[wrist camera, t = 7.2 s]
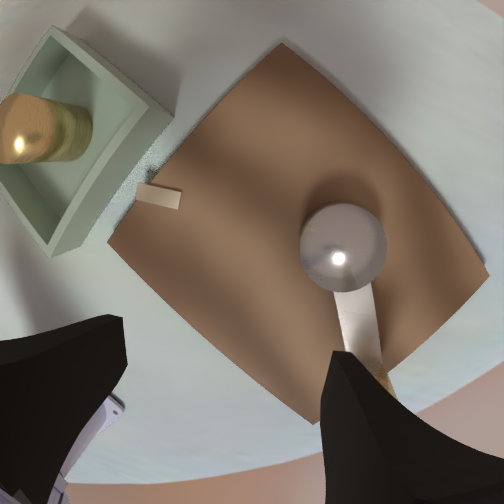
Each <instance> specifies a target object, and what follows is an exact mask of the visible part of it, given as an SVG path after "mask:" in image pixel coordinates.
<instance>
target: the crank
mask: <svg viewBox="0 0 504 504" xmlns="http://www.w3.org/2000/svg"><path fill="white" fill-rule="evenodd" d="M299 244H300V257H301V262H302V265H303V267H304V269H305V271H306V273H307V274H308V276H309V277H310V278H311V279H312V281H314V282H315V283H316V284H317V285H319V286H320V287H322V288H324V289H326V290H329V291H333V295H334V299H335V304H336V309H337V313H338V318H339V323H340V328H341V333H342V338H343V343H344V348H345V351H347V352H352V353H353V354H354V355H355V356H356V357H357V359H358V360H359V361H360V362H361V363H362V364H363V365H364V366H365V368H366V369H367V370H368V371H369V372H370V373H371V374H372V375H373V376H374V378H375V379H376V380H377V381H378V382H379V383H380V384H381V385H382V386H383V387H384V388H385V389H386V390H387V391H388V392H389V393H390V394H391V395H392V396H393V397H394V398H396V399H397V396H396V394H395V391H394V389H393V386H392V383H391V381H390V378H389V376H388V373H387V371H386V368H385V367H384V366H383V364H382V355H381V347H380V339H379V332H378V325H377V318H376V311H375V305H374V299H373V293H372V287H371V281H373V280H374V279H375V277H376V276H377V275H378V274H379V272H380V271H381V269H382V267H383V265H384V263H385V259H386V255H387V239H386V235H385V232H384V229H383V227H382V226H381V224H380V222H379V221H378V220H377V219H376V218H375V217H374V216H373V215H372V214H371V213H370V212H368V211H367V210H365V209H363V208H361V207H359V206H357V205H355V204H352V203H348V202H331V203H328V204H325V205H323V206H321V207H319V208H317V209H316V210H315V211H314V212H312V213H311V214H310V216H309V217H308V218H307V219H306V221H305V223H304V225H303V227H302V230H301V233H300V240H299ZM397 400H398V399H397Z"/></svg>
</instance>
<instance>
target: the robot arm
mask: <svg viewBox="0 0 504 504" xmlns="http://www.w3.org/2000/svg"><path fill="white" fill-rule="evenodd" d="M127 365H128V363H127V356H126V347H125V338H124V328H123V317H118V316H114V315H110V314H107V315H101V316H97V317H94V318H90V319H87V320H84V321H81V322H77V323H74V324H71V325H68V326H65V327H61V328H58V329H55V330H51V331H47V332H44V333H40V334H36V335H32V336H28V337H23V338H17V339H11V340H3V341H0V504H69V496H68V494H67V493H66V492H64V489H65V488H66V486H67V485H68V482H67V481H66V480H65V479H64V478H65V476H66V475H67V474H68V472H69V471H70V470H71V468H72V467H73V465H74V464H75V463H76V461H77V460H78V459H79V457H80V456H81V454H82V453H83V452H84V450H85V449H86V448H87V446H88V445H89V444H90V442H91V441H92V439H93V438H94V437H95V436H96V435H98V434H99V433H100V432H101V431H103V430H104V429H105V428H106V427H107V426H108V425H110V424H111V423H112V422H113V421H114V420H116V419H117V418H118V417H119V416H120V415H122V414H123V412H124V408H123V407H122V406H121V405H120V404H119V403H118V402H116V401H115V400H114V399H113V398H112V397H111V396H110V395H109V394H110V393H111V392H112V391H113V389H114V388H115V386H116V385H117V383H118V382H119V380H120V378H121V377H122V375H123V373H124V371H125V369H126V367H127ZM320 428H321V437H322V447H323V456H324V466H325V476H326V499H325V501H326V502H325V504H504V459H502V458H499V457H496V456H493V455H489V454H486V453H483V452H480V451H478V450H476V449H473V448H471V447H469V446H466V445H464V444H462V443H460V442H458V441H456V440H454V439H452V438H450V437H448V436H447V435H445V434H443V433H441V432H440V431H438V430H436V429H435V428H433V427H431V426H430V425H428V424H427V423H425V422H424V421H423V420H421V419H420V418H419V417H417V416H416V415H415V414H413V413H412V412H411V411H409V410H408V409H407V408H406V407H404V406H403V405H402V404H401V403H400V402H399V401H398V400H397V399H396V398H394V397H393V396H392V395H391V394H390V393H389V392H388V391H387V390H386V389H385V388H384V387H383V386H382V385H381V384H380V383H379V382H378V381H377V380H376V379H375V378H374V376H373V375H372V374H371V373H370V372H369V371H368V370H367V369H366V368H365V366H364V365H363V364H362V363H361V362H360V361H359V360H358V359H357V357H356V356H355V355H354V354H353V353H352V352H347V351H335V350H333V352H332V356H331V360H330V364H329V368H328V372H327V376H326V380H325V384H324V388H323V391H322V395H321V402H320Z"/></svg>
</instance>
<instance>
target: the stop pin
mask: <svg viewBox="0 0 504 504" xmlns="http://www.w3.org/2000/svg"><path fill="white" fill-rule="evenodd" d="M92 134H93V122H92V118H91V115H90V113H89V112H88V111H87V110H86V109H85V108H84V107H82V106H78V105H74V104H69V103H65V102H61V101H56V100H51V99H47V98H42V97H37V96H32V95H27V94H21V93H13V94H11V95H9V96H8V97H7V98H5V99H4V101H3V102H2V103H1V104H0V163H2V164H15V163H39V162H72V161H75V160H77V159H78V158H80V157H81V156H82V155H83V154H84V153H85V151H86V150H87V148H88V146H89V144H90V142H91V139H92Z"/></svg>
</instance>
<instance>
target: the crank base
mask: <svg viewBox="0 0 504 504" xmlns="http://www.w3.org/2000/svg"><path fill="white" fill-rule="evenodd" d="M135 199H136V200H137V201H136V202H135V204H134V205H133V206H132V208H131V209H130V210H129V212H128V213H127V214H126V216H125V217H124V218H123V220H122V221H121V223H120V224H119V225H118V227H117V228H116V230H115V231H114V233H113V234H112V235H111V237H110V238H109V240H108V241H107V243H108V244H109V245H110V246H111V247H112V248H113V249H114V250H115V251H116V252H117V254H118V255H119V256H120V257H121V258H122V259H123V260H124V261H125V262H126V263H127V264H128V265H129V266H130V267H131V268H132V269H133V270H134V271H135V272H136V273H137V274H138V275H139V276H140V277H141V278H142V279H143V280H144V281H145V282H146V283H147V284H148V285H149V286H150V287H151V288H152V289H153V290H154V291H155V292H156V293H157V294H158V295H159V296H160V297H161V298H162V299H163V300H164V301H165V302H166V303H167V304H168V305H170V306H171V307H172V308H173V309H174V310H175V311H176V312H177V313H178V314H179V315H180V316H181V317H182V318H183V319H185V320H186V321H187V322H188V323H189V324H190V325H191V326H192V327H193V328H194V329H195V330H197V331H198V332H199V333H200V334H201V335H202V336H203V337H204V338H206V339H207V340H208V341H209V342H210V343H211V344H212V345H213V346H215V347H216V348H217V349H218V350H219V351H220V352H222V353H223V354H224V355H225V356H226V357H227V358H229V359H230V360H231V361H232V362H233V363H234V364H236V365H237V366H238V367H239V368H240V369H242V370H243V371H244V372H245V373H247V374H248V375H249V376H250V377H251V378H253V379H254V380H255V381H256V382H258V383H259V384H260V385H261V386H263V387H264V388H265V389H266V390H268V391H269V392H270V393H271V394H273V395H274V396H275V397H277V398H278V399H279V400H280V401H282V402H283V403H284V404H286V405H287V406H288V407H290V408H291V409H292V410H294V411H295V412H296V413H298V414H299V415H300V416H302V417H303V418H304V419H306V420H307V421H309V422H310V423H311V424H313V425H314V424H315V423H317V422H318V421H320V402H321V395H322V391H323V388H324V384H325V380H326V376H327V372H328V368H329V364H330V360H331V356H332V352H333V350H335V351H345V348H344V343H343V338H342V333H341V328H340V323H339V318H338V313H337V309H336V304H335V299H334V295H333V291H329V290H326V289H324V288H322V287H320V286H319V285H317V284H316V283H315V282H314V281H312V279H311V278H310V277H309V276H308V274H307V273H306V271H305V269H304V267H303V265H302V262H301V257H300V244H299V240H300V233H301V230H302V227H303V225H304V223H305V221H306V219H307V218H308V217H309V216H310V214H311V213H312V212H314V211H315V210H316V209H317V208H319V207H321V206H323V205H325V204H328V203H331V202H348V203H352V204H355V205H357V206H359V207H361V208H363V209H365V210H367V211H368V212H370V213H371V214H372V215H373V216H374V217H375V218H376V219H377V220H378V221H379V222H380V224H381V226H382V227H383V229H384V232H385V235H386V239H387V255H386V259H385V263H384V265H383V267H382V269H381V271H380V272H379V274H378V275H377V276H376V277H375V279H374V280H373V281H371V287H372V293H373V299H374V305H375V311H376V318H377V325H378V332H379V339H380V347H381V355H382V364H383V366H384V367H385V368H386V371H387V373H388V372H389V371H390V370H392V369H393V368H394V367H395V366H397V365H398V364H399V363H400V362H401V361H403V360H404V359H405V358H406V357H407V356H409V355H410V354H411V353H412V352H413V351H414V350H416V349H417V348H418V347H419V346H420V345H421V344H422V343H424V342H425V341H426V340H427V339H428V338H429V337H430V336H431V335H432V334H434V333H435V332H436V331H437V330H438V329H439V328H440V327H441V326H442V325H443V324H444V323H445V322H446V321H447V320H448V319H449V318H450V317H451V316H452V315H453V314H454V313H455V312H456V311H457V310H458V309H459V308H460V307H461V306H462V305H463V304H464V303H465V302H466V301H467V300H468V299H469V298H470V297H471V296H472V295H473V294H474V293H475V292H476V291H477V290H478V289H479V287H480V286H481V285H482V284H483V283H484V282H485V281H486V280H487V279H488V277H489V276H490V275H489V274H488V272H487V270H486V268H485V267H484V265H483V263H482V262H481V260H480V259H479V257H478V255H477V254H476V252H475V251H474V249H473V247H472V246H471V244H470V243H469V241H468V240H467V238H466V237H465V235H464V234H463V232H462V231H461V229H460V228H459V226H458V225H457V224H456V222H455V221H454V219H453V218H452V217H451V215H450V214H449V212H448V211H447V210H446V208H445V207H444V206H443V204H442V203H441V202H440V200H439V199H438V198H437V196H436V195H435V194H434V192H433V191H432V190H431V189H430V187H429V186H428V185H427V183H426V182H425V181H424V180H423V179H422V177H421V176H420V175H419V174H418V172H417V171H416V170H415V169H414V168H413V166H412V165H411V164H410V163H409V162H408V161H407V159H406V158H405V157H404V156H403V155H402V154H401V153H400V151H399V150H398V149H397V148H396V147H395V146H394V145H393V144H392V143H391V141H390V140H389V139H388V138H387V137H386V136H385V135H384V134H383V133H382V132H381V131H380V130H379V129H378V128H377V127H376V126H375V125H374V123H373V122H372V121H371V120H370V119H369V118H368V117H367V116H366V115H365V114H364V113H363V112H362V111H361V110H360V109H358V108H357V107H356V106H355V105H354V104H353V103H352V102H351V101H350V100H349V99H348V98H347V97H346V96H345V95H344V94H343V93H342V92H340V91H339V90H338V89H337V88H336V87H335V86H334V85H333V84H332V83H330V82H329V81H328V80H327V79H326V78H325V77H324V76H322V75H321V74H320V73H319V72H318V71H317V70H315V69H314V68H313V67H312V66H311V65H309V64H308V63H307V62H306V61H304V60H303V59H302V58H301V57H299V56H298V55H297V54H296V53H294V52H293V51H292V50H291V49H289V48H288V47H287V46H285V45H284V44H283V43H281V44H279V45H278V46H277V47H276V48H275V49H274V50H273V51H272V52H271V53H270V54H268V55H267V56H266V57H265V58H264V59H263V60H262V61H261V62H260V63H259V64H258V65H257V66H256V67H255V68H254V69H253V70H252V71H250V72H249V73H248V74H247V75H246V76H245V77H244V78H243V79H242V80H241V81H240V82H239V83H238V84H237V85H236V86H235V87H234V88H233V89H232V90H231V91H230V92H229V93H228V94H227V95H226V97H225V98H224V99H223V100H222V101H221V102H220V103H219V104H218V105H217V106H216V107H215V108H214V109H213V110H212V111H211V112H210V113H209V115H208V116H207V117H206V118H205V119H204V120H203V121H202V122H201V123H200V124H199V126H198V127H197V128H196V129H195V130H194V131H193V132H192V133H191V135H190V136H189V137H188V138H187V139H186V140H185V141H184V143H183V144H182V145H181V146H180V147H179V148H178V150H177V151H176V152H175V153H174V154H173V156H172V157H171V158H170V159H169V160H168V162H167V163H166V164H165V165H164V166H163V168H162V169H161V170H160V171H159V173H158V174H157V175H156V176H155V178H154V179H153V180H152V181H151V183H150V184H149V185H148V184H143V183H138V186H137V192H136V198H135Z"/></svg>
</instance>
